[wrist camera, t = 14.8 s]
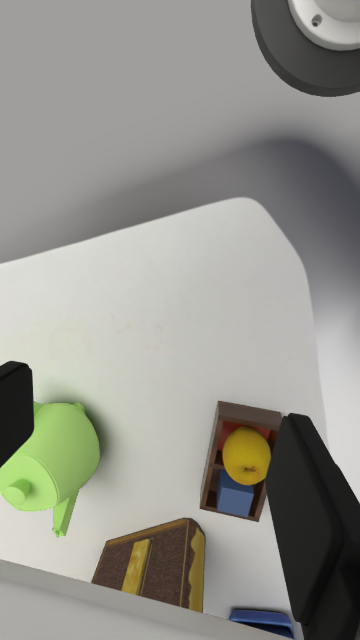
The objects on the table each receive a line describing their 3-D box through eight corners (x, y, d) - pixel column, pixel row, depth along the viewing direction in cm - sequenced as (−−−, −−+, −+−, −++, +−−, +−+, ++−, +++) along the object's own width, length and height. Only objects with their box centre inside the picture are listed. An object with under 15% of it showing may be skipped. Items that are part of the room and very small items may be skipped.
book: (189, 510, 45) (159, 810, 21) (212, 545, 46) (208, 861, 22) (91, 540, 50) (-21, 806, 26) (114, 570, 52) (28, 847, 28)
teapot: (125, 470, 44) (92, 553, 32) (59, 481, 47) (6, 561, 35) (81, 368, 40) (23, 419, 28) (11, 386, 43) (-69, 440, 31)
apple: (259, 412, 37) (270, 454, 30) (269, 447, 39) (283, 497, 31) (216, 420, 39) (217, 462, 31) (228, 454, 40) (231, 503, 32)
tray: (218, 400, 38) (218, 414, 35) (280, 412, 37) (286, 427, 34) (200, 489, 43) (199, 508, 40) (255, 501, 42) (258, 522, 39)
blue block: (249, 468, 40) (254, 494, 36) (244, 489, 42) (247, 517, 37) (221, 462, 41) (222, 487, 36) (216, 483, 42) (216, 510, 38)
